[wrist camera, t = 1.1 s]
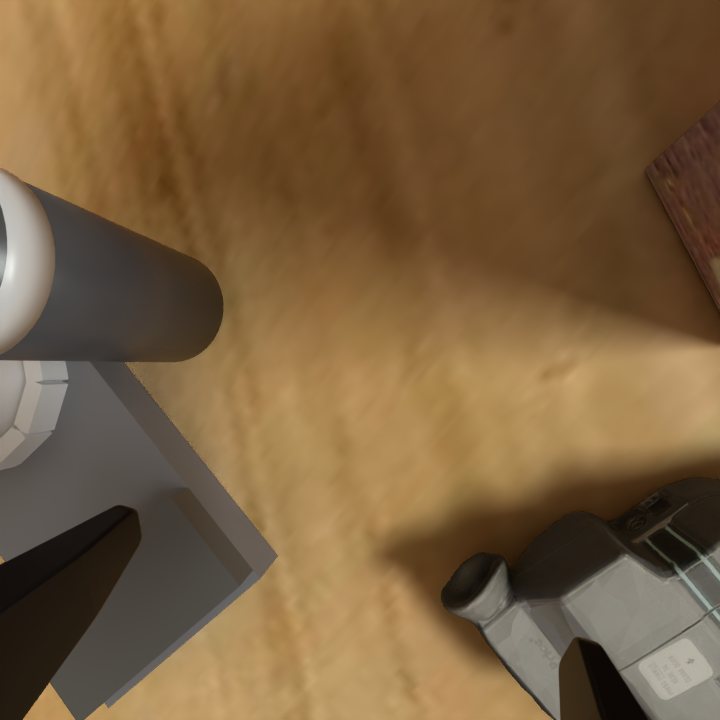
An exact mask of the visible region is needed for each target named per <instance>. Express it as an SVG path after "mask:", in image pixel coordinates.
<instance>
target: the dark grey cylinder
mask: <svg viewBox="0 0 720 720" xmlns="http://www.w3.org/2000/svg"><path fill="white" fill-rule="evenodd" d="M222 316H223V298H222V293H221V289H220V287H219V284H218V282H217V280H216V278H215V277H214V275H213V274H212V273H211V271H210V270H209V269H208V268H207V267H206V266H205V265H203V264H202V263H201V262H199V261H198V260H196V259H194V258H192V257H189V256H187V255H185V254H183V253H181V252H178V251H176V250H174V249H172V248H169V247H167V246H165V245H163V244H161V243H158V242H156V241H154V240H152V239H150V238H147V237H145V236H143V235H141V234H138V233H136V232H134V231H132V230H130V229H127V228H125V227H123V226H121V225H118V224H116V223H114V222H112V221H110V220H107V219H105V218H103V217H101V216H99V215H96V214H94V213H92V212H90V211H87V210H85V209H83V208H81V207H79V206H76V205H74V204H72V203H70V202H68V201H65V200H63V199H61V198H59V197H56V196H54V195H52V194H50V193H48V192H45V191H43V190H41V189H39V188H37V187H34V186H32V185H30V184H28V183H25V182H23V181H22V180H20V179H19V178H18V177H17V176H15V175H13V174H12V173H10V172H8V171H7V170H5V169H2V168H0V360H8V361H106V362H180V361H185V360H188V359H190V358H193V357H195V356H196V355H198V354H200V353H201V352H202V351H203V350H205V349H206V348H207V347H208V346H209V344H210V343H211V342H212V341H213V339H214V338H215V336H216V334H217V332H218V330H219V327H220V325H221V321H222Z"/></svg>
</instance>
